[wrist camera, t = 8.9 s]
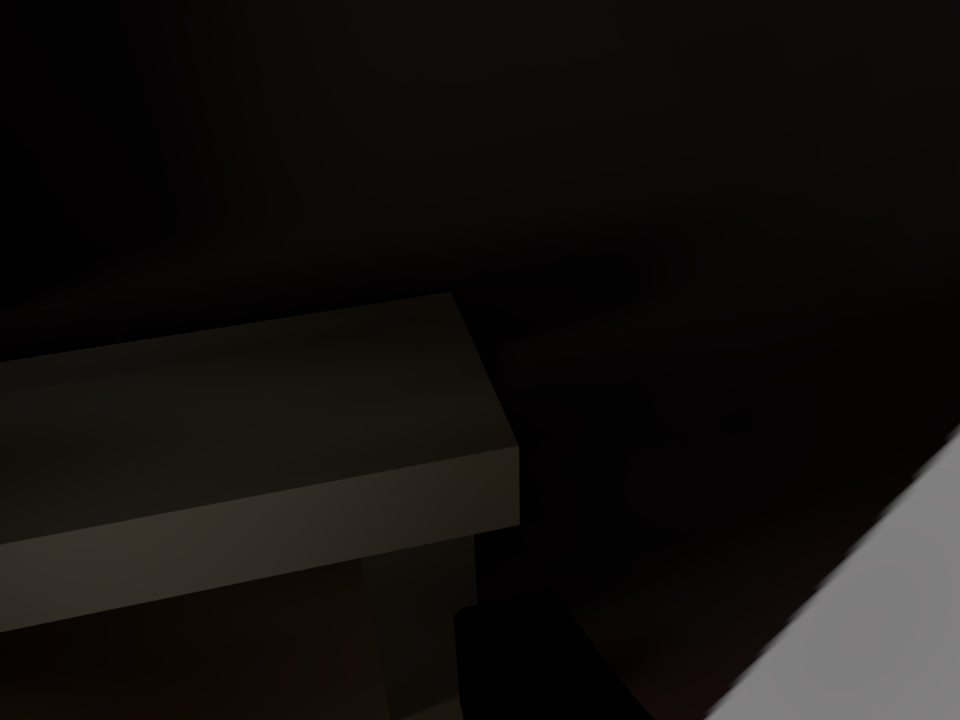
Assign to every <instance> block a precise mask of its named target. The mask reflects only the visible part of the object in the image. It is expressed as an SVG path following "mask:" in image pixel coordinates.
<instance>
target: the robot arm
mask: <svg viewBox="0 0 960 720" xmlns="http://www.w3.org/2000/svg"><path fill="white" fill-rule="evenodd" d="M454 630H455V643H456V657H457V670H458V684H459V698H460V706H461V710H462V715H463V720H654V719H653V718H652V716H651V715H650V714H649V713H648V712H647V711H646V710H645V708H644V707H643V706H642V705H641V704H640V703H639V701H638V700H637V699H636V698H635V697H634V696H633V694H632V693H631V692H630V691H629V690H628V688H627V687H626V686H625V685H624V683H623V682H622V681H621V680H620V679H619V677H618V676H617V675H616V674H615V672H614V671H613V670H612V668H611V667H610V666H609V665H608V663H607V662H606V661H605V659H604V658H603V657H602V656H601V654H600V653H599V652H598V651H597V649H596V648H595V647H594V645H593V644H592V643H591V641H590V640H589V639H588V637H587V636H586V634H585V633H584V632H583V630H582V629H581V628H580V626H579V625H578V623H577V622H576V621H575V619H574V618H573V616H572V615H571V613H570V612H569V611H568V609H567V608H566V606H565V605H564V603H563V602H562V600H561V599H560V597H559V595H558V594H557V593H556V592H554V591H552V590H550V589H546V590H541V591H537V592H532V593H528V594H523V595H519V596H515V597H510V598H506V599H501V600H497V601H492V602H488V603H483V604H479V605H474V606H470V607H465V608H462V609H461V610H460V611H458V612H457V613H456V614H455V615H454Z"/></svg>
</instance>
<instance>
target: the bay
mask: <svg viewBox="0 0 960 720" xmlns="http://www.w3.org/2000/svg"><path fill="white" fill-rule="evenodd" d="M516 525H520V507H519V445H518V442H517V440H516V438H515V436H514V433H513V431H512V429H511V427H510V424H509V422H508V420H507V418H506V415H505V413H504V411H503V409H502V406H501V404H500V402H499V399H498V397H497V395H496V393H495V390H494V388H493V386H492V384H491V381H490V379H489V377H488V375H487V372H486V370H485V368H484V366H483V363H482V361H481V359H480V356H479V354H478V352H477V350H476V347H475V345H474V343H473V341H472V338H471V336H470V334H469V332H468V329H467V327H466V325H465V323H464V320H463V318H462V316H461V313H460V311H459V309H458V307H457V304H456V302H455V300H454V298H453V295H452V293H451V292H445V293H439V294H433V295H426V296H420V297H413V298H407V299H401V300H394V301H388V302H382V303H375V304H369V305H362V306H356V307H350V308H343V309H337V310H330V311H324V312H318V313H311V314H305V315H298V316H292V317H286V318H279V319H273V320H266V321H260V322H254V323H247V324H241V325H235V326H228V327H222V328H215V329H209V330H203V331H196V332H190V333H183V334H177V335H171V336H164V337H158V338H151V339H145V340H139V341H132V342H126V343H119V344H113V345H107V346H100V347H94V348H88V349H81V350H75V351H68V352H62V353H56V354H49V355H43V356H36V357H30V358H24V359H17V360H11V361H4V362H0V632H5V631H9V630H14V629H19V628H24V627H29V626H34V625H38V624H43V623H48V622H53V621H58V620H63V619H67V618H72V617H77V616H82V615H87V614H92V613H96V612H101V611H106V610H111V609H116V608H120V607H125V606H130V605H135V604H140V603H145V602H149V601H154V600H159V599H164V598H169V597H174V596H178V595H183V594H188V593H193V592H198V591H203V590H207V589H212V588H217V587H222V586H227V585H232V584H236V583H241V582H246V581H251V580H256V579H261V578H265V577H270V576H275V575H280V574H285V573H289V572H294V571H299V570H304V569H309V568H314V567H318V566H323V565H328V564H333V563H338V562H343V561H347V560H352V559H357V558H360V561H361V566H362V572H363V577H364V582H365V587H366V593H367V598H368V603H369V608H370V614H371V619H372V624H373V629H374V634H375V640H376V645H377V650H378V655H379V661H380V666H381V671H382V676H383V682H384V687H385V692H386V697H387V703H388V708H389V713H390V718H391V720H463V715H462V710H461V706H460V698H459V684H458V670H457V657H456V643H455V630H454V615H455V614H456V613H457V612H458V611H460V610H461V609H462V608H465V607H470V606H474V605H477V589H476V569H475V549H474V534H478V533H483V532H487V531H492V530H497V529H502V528H507V527H512V526H516Z"/></svg>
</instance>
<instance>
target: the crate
mask: <svg viewBox="0 0 960 720" xmlns="http://www.w3.org/2000/svg"><path fill="white" fill-rule="evenodd" d="M0 720H391V718H390V713H389V708H388V703H387V697H386V692H385V687H384V682H383V676H382V671H381V666H380V661H379V655H378V650H377V645H376V640H375V634H374V629H373V624H372V619H371V614H370V608H369V603H368V598H367V593H366V587H365V582H364V577H363V572H362V566H361V561H360V558H357V559H352V560H347V561H343V562H338V563H333V564H328V565H323V566H318V567H314V568H309V569H304V570H299V571H294V572H289V573H285V574H280V575H275V576H270V577H265V578H261V579H256V580H251V581H246V582H241V583H236V584H232V585H227V586H222V587H217V588H212V589H207V590H203V591H198V592H193V593H188V594H183V595H178V596H174V597H169V598H164V599H159V600H154V601H149V602H145V603H140V604H135V605H130V606H125V607H120V608H116V609H111V610H106V611H101V612H96V613H92V614H87V615H82V616H77V617H72V618H67V619H63V620H58V621H53V622H48V623H43V624H38V625H34V626H29V627H24V628H19V629H14V630H9V631H5V632H0Z"/></svg>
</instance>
